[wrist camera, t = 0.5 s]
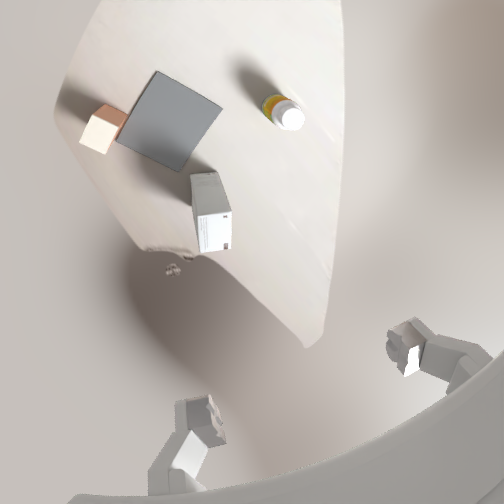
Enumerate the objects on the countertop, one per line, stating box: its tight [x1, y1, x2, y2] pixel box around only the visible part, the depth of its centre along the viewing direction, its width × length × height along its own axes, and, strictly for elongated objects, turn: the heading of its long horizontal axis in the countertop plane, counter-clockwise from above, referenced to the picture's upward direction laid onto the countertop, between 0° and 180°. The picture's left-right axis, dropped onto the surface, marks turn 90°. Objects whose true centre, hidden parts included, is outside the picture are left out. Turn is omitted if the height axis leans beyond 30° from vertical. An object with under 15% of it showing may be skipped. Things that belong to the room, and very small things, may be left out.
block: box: [79, 104, 127, 154], centre depth 41 cm, size 5×5×9 cm
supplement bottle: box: [262, 94, 305, 130], centre depth 46 cm, size 5×5×10 cm
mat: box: [116, 72, 223, 172], centre depth 47 cm, size 15×14×1 cm
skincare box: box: [190, 172, 232, 253], centre depth 53 cm, size 8×6×15 cm
